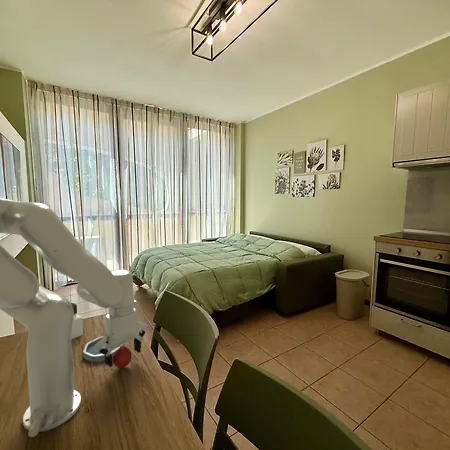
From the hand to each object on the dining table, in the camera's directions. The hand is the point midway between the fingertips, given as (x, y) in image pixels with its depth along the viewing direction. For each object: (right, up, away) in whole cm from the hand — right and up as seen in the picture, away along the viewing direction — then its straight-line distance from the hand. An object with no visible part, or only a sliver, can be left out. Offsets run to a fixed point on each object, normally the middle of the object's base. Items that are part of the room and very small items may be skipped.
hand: (124, 357), depth 84 cm
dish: (-11, -2, +9) cm, 14 cm away
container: (-30, -1, +18) cm, 35 cm away
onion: (0, -4, 0) cm, 4 cm away
